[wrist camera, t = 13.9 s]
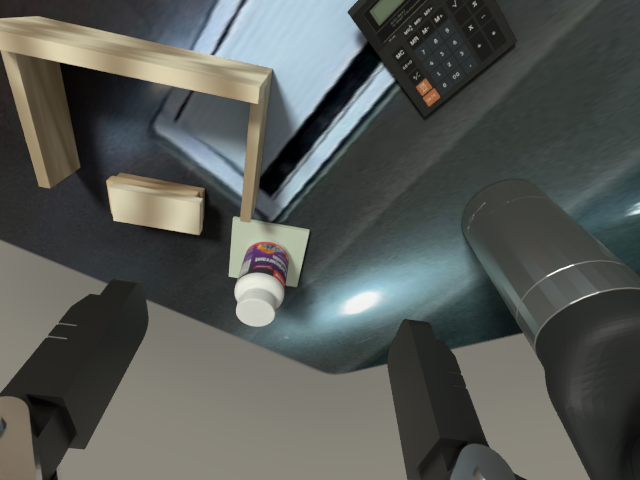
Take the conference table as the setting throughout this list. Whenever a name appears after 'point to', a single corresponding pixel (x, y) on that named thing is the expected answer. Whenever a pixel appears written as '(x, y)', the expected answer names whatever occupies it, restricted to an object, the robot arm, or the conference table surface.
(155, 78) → the enclosure
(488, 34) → the calculator
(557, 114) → the conference table surface
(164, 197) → the offcut stack
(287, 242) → the sage mat
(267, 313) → the pill bottle
